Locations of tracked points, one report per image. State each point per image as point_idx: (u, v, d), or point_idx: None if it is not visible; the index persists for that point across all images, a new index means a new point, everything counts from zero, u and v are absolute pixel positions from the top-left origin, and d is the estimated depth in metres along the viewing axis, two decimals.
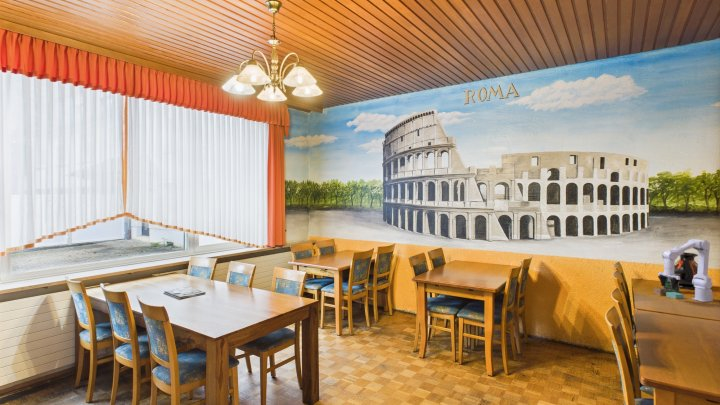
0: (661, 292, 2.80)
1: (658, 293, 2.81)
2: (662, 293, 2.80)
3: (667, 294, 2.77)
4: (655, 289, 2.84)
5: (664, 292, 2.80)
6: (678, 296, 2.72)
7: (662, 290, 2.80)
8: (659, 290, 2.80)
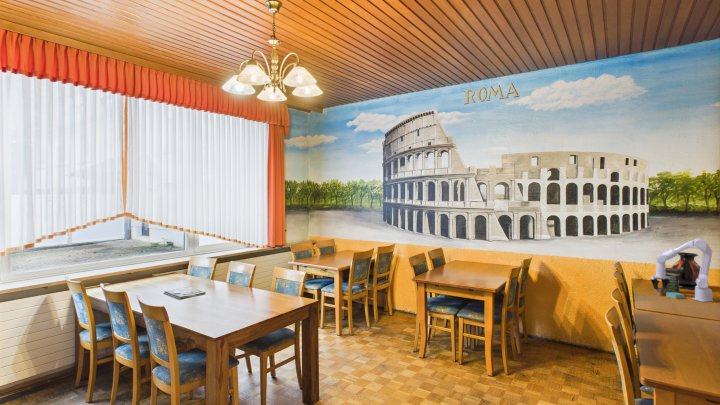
0: (661, 292, 2.80)
1: (658, 293, 2.81)
2: (662, 293, 2.80)
3: (667, 294, 2.77)
4: (655, 289, 2.84)
5: (664, 292, 2.80)
6: (678, 296, 2.72)
7: (662, 290, 2.80)
8: (659, 290, 2.80)
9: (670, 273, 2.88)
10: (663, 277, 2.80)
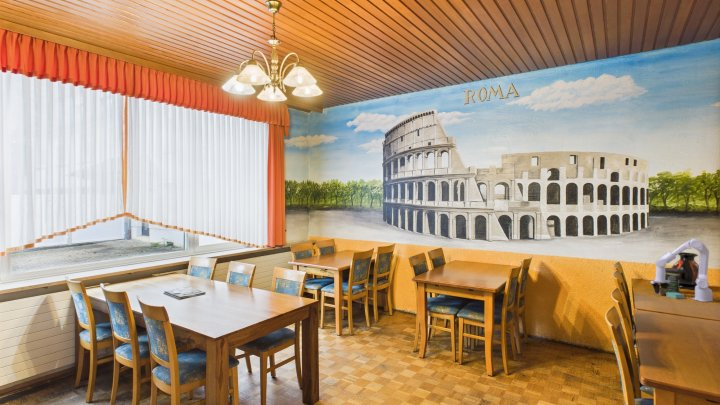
0: (661, 292, 2.80)
1: (658, 293, 2.81)
2: (662, 293, 2.80)
3: (667, 294, 2.77)
4: None
5: (664, 292, 2.80)
6: (678, 296, 2.72)
7: (662, 290, 2.80)
8: (659, 290, 2.80)
9: (670, 273, 2.88)
10: (663, 281, 2.80)
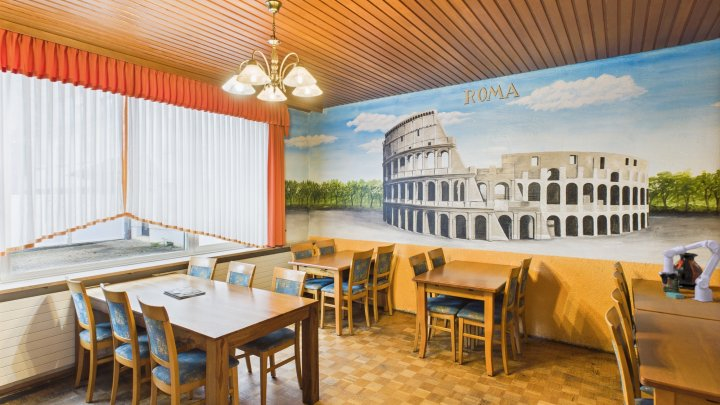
0: (668, 283, 2.76)
1: (666, 284, 2.77)
2: (670, 284, 2.76)
3: (667, 294, 2.77)
4: None
5: (672, 283, 2.77)
6: (678, 296, 2.72)
7: (670, 281, 2.76)
8: (667, 281, 2.77)
9: None
10: (671, 272, 2.76)
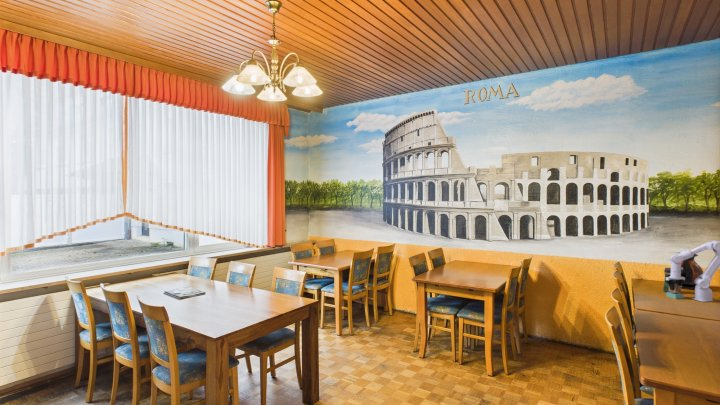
0: (676, 289, 2.73)
1: (673, 290, 2.74)
2: (677, 290, 2.73)
3: (667, 294, 2.77)
4: None
5: (679, 289, 2.73)
6: (678, 296, 2.72)
7: (677, 287, 2.73)
8: (674, 287, 2.73)
9: (670, 273, 2.88)
10: (678, 278, 2.72)
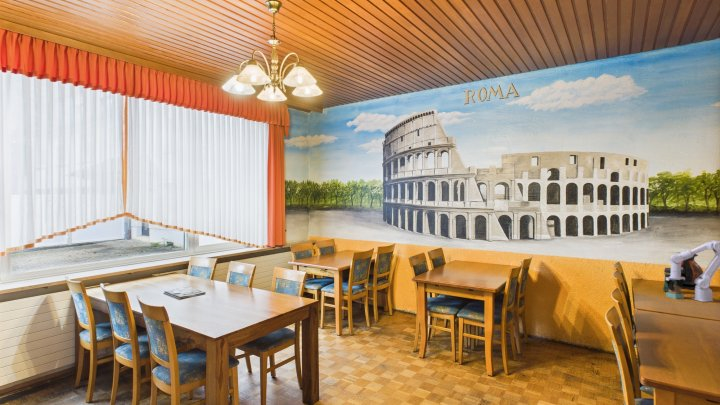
0: (676, 290, 2.73)
1: (673, 291, 2.74)
2: (678, 292, 2.73)
3: (667, 294, 2.77)
4: None
5: (679, 290, 2.73)
6: (678, 296, 2.72)
7: (677, 288, 2.73)
8: (674, 288, 2.73)
9: (670, 273, 2.88)
10: (678, 278, 2.72)
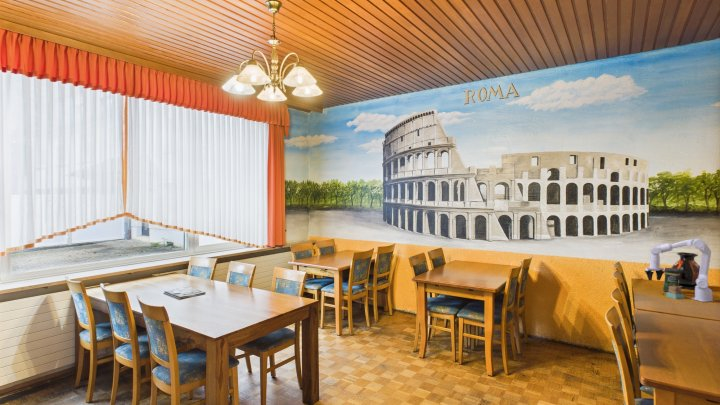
0: (676, 290, 2.73)
1: (673, 291, 2.74)
2: (678, 292, 2.73)
3: (667, 294, 2.77)
4: (670, 287, 2.76)
5: (679, 290, 2.73)
6: (678, 296, 2.72)
7: (677, 288, 2.73)
8: (674, 288, 2.73)
9: (670, 273, 2.88)
10: (657, 268, 2.82)
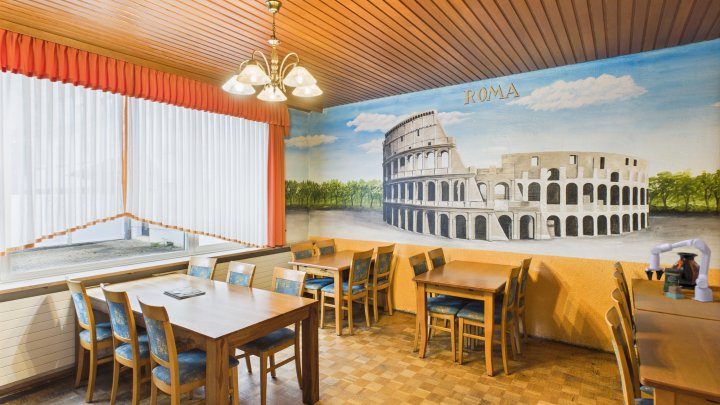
0: (676, 290, 2.73)
1: (673, 291, 2.74)
2: (678, 292, 2.73)
3: (667, 294, 2.77)
4: (670, 287, 2.76)
5: (679, 290, 2.73)
6: (678, 296, 2.72)
7: (677, 288, 2.73)
8: (674, 288, 2.73)
9: (670, 273, 2.88)
10: (657, 268, 2.82)
